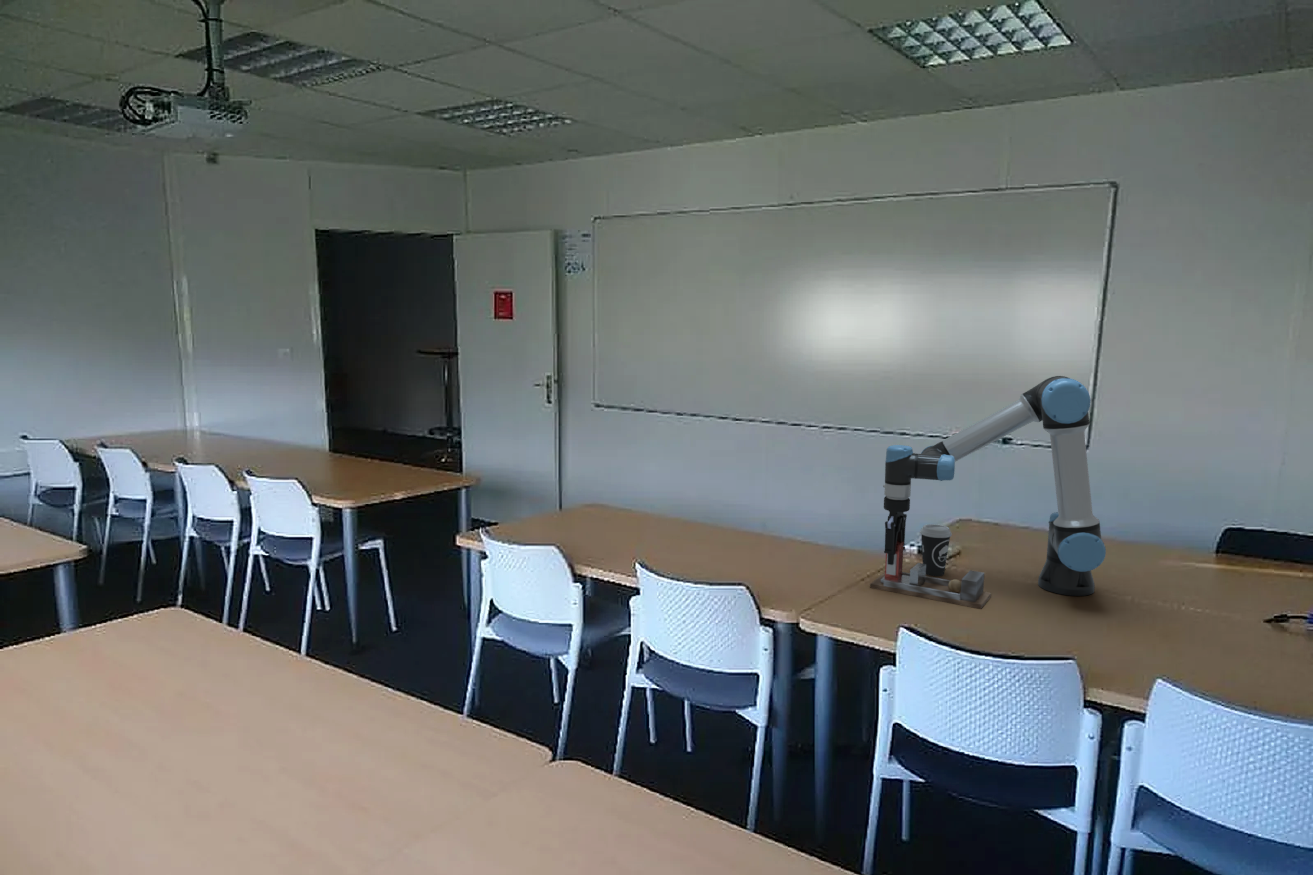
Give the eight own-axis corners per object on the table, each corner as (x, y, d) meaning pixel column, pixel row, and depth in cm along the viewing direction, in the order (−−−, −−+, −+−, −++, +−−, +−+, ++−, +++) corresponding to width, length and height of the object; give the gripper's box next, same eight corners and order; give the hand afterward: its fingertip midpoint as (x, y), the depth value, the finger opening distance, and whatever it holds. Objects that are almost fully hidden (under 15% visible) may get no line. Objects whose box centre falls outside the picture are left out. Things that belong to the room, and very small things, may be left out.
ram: (925, 582, 245) (927, 543, 243) (917, 589, 239) (919, 549, 237) (889, 575, 251) (891, 537, 250) (880, 582, 245) (882, 543, 243)
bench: (990, 596, 237) (992, 573, 236) (981, 609, 227) (982, 584, 226) (883, 576, 255) (884, 554, 254) (870, 587, 245) (871, 564, 244)
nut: (955, 593, 239) (967, 587, 236) (952, 597, 235) (963, 591, 233) (947, 581, 239) (958, 575, 237) (943, 585, 236) (955, 579, 234)
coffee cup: (945, 568, 263) (947, 523, 261) (952, 578, 253) (955, 531, 251) (915, 567, 264) (917, 523, 262) (921, 577, 254) (924, 530, 252)
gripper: (893, 490, 252) (890, 563, 255) (875, 500, 238) (871, 577, 241) (918, 493, 248) (914, 567, 251) (900, 504, 234) (896, 582, 237)
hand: (893, 572), depth 246 cm, fingers open, 4 cm apart
